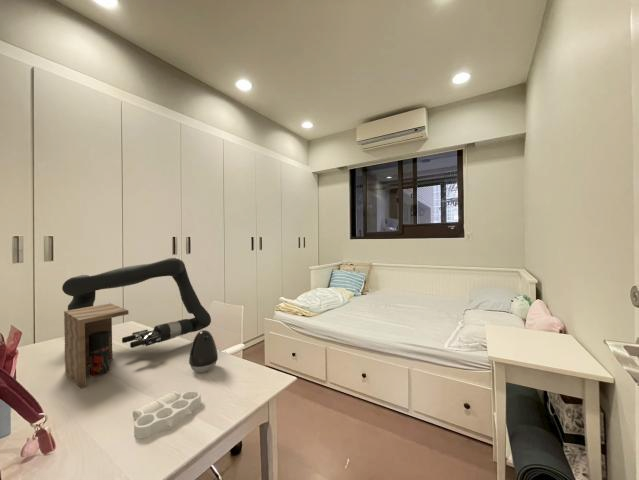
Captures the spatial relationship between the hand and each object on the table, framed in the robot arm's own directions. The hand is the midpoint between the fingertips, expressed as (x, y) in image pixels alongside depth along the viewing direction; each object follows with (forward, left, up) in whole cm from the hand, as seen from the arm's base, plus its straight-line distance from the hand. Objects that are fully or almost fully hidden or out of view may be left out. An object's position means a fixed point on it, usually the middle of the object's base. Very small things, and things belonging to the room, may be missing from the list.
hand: (126, 342), depth 109 cm
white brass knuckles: (+47, -6, -9) cm, 48 cm away
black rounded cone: (+31, +15, -9) cm, 36 cm away
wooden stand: (-2, -9, -8) cm, 13 cm away
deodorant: (0, -9, -9) cm, 12 cm away
